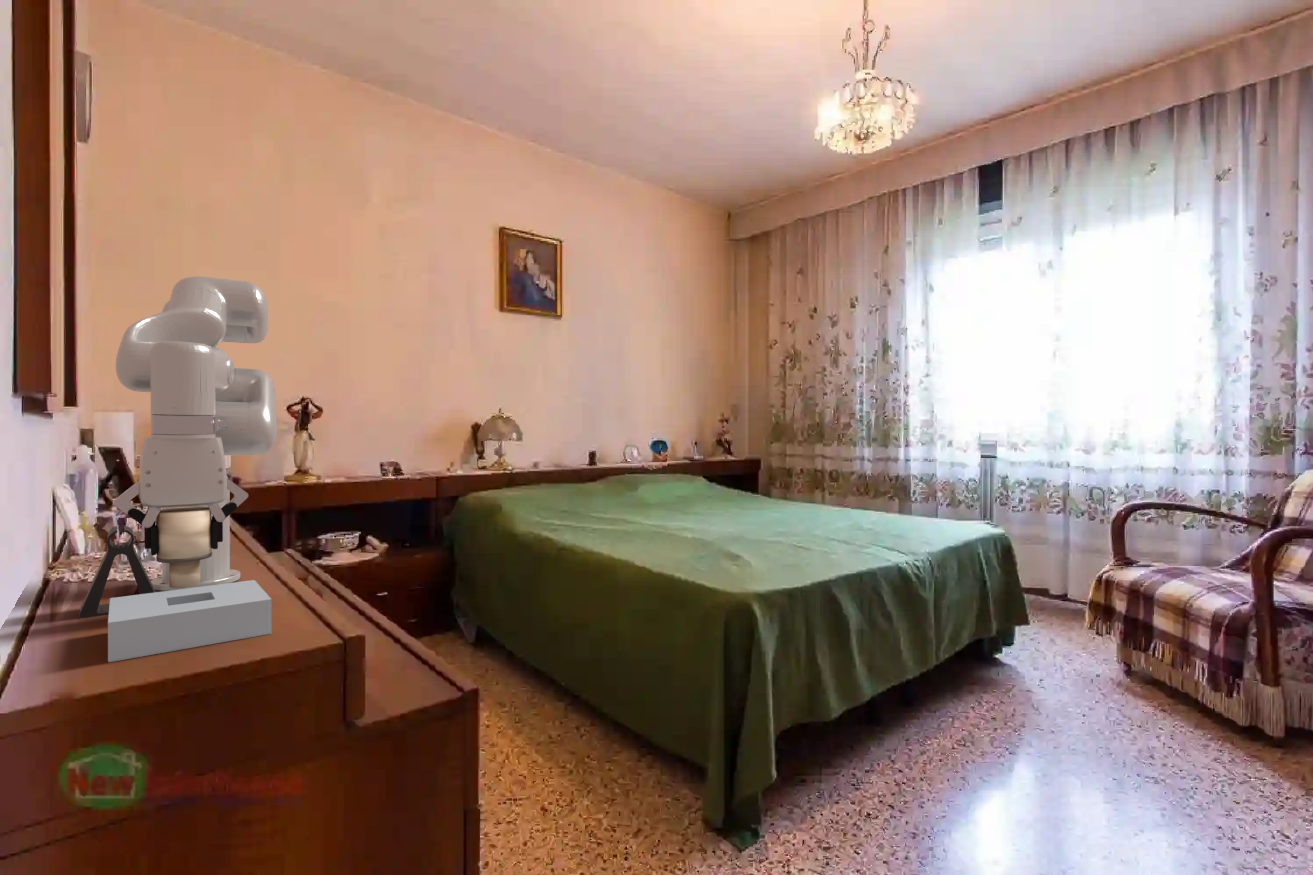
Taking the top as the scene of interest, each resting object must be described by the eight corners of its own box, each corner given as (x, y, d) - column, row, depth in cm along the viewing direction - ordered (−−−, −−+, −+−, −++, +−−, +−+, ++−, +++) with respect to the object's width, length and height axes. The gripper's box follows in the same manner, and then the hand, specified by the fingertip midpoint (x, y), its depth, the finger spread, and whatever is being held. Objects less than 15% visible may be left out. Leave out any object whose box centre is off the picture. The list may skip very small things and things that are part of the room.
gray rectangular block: (110, 632, 82) (110, 598, 82) (254, 610, 92) (254, 579, 92) (108, 662, 71) (107, 622, 71) (271, 633, 81) (271, 599, 81)
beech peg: (155, 583, 92) (155, 508, 92) (209, 576, 96) (209, 505, 96) (157, 593, 87) (156, 515, 87) (214, 586, 91) (213, 511, 91)
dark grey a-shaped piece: (78, 618, 88) (78, 533, 88) (80, 609, 92) (80, 528, 92) (160, 607, 94) (160, 527, 94) (158, 599, 98) (158, 523, 98)
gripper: (250, 427, 99) (250, 539, 100) (105, 426, 88) (106, 553, 89) (258, 428, 94) (258, 547, 94) (103, 428, 82) (105, 563, 83)
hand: (184, 549), depth 91 cm, fingers closed on beech peg, 6 cm apart
